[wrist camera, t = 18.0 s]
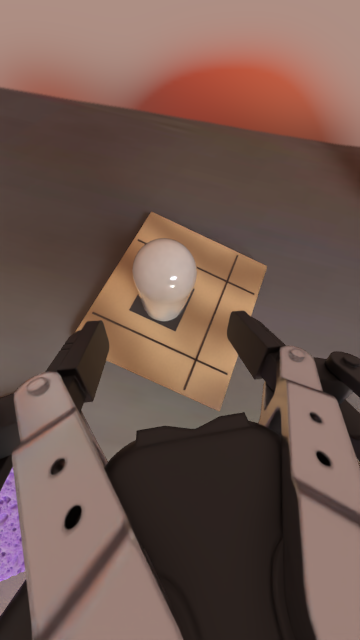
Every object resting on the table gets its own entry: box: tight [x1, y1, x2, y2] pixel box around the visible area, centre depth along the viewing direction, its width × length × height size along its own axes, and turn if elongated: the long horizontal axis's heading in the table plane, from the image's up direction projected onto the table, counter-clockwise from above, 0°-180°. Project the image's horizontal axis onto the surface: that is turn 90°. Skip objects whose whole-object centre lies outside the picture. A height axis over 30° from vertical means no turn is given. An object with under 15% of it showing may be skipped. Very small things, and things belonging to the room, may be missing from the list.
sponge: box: [0, 467, 25, 581], centre depth 14 cm, size 7×13×2 cm, turn 13°
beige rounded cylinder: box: [132, 238, 197, 321], centre depth 15 cm, size 5×5×9 cm
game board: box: [76, 212, 267, 411], centre depth 20 cm, size 20×18×2 cm
